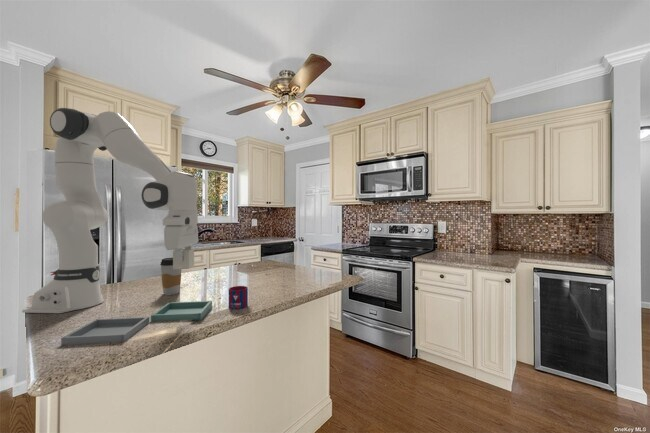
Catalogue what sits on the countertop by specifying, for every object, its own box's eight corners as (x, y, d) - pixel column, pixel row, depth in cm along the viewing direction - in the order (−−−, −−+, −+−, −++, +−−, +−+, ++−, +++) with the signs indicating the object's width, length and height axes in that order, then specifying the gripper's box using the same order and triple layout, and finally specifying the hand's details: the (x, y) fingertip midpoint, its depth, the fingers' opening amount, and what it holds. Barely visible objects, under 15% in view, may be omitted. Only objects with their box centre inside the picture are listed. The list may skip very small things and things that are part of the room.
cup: (226, 309, 99) (226, 290, 99) (234, 300, 109) (234, 283, 109) (245, 309, 100) (244, 290, 99) (251, 300, 110) (251, 283, 109)
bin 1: (61, 347, 71) (61, 338, 71) (96, 327, 84) (96, 319, 84) (124, 343, 73) (124, 334, 73) (149, 324, 86) (149, 316, 86)
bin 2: (150, 323, 87) (150, 315, 87) (168, 309, 100) (168, 302, 100) (201, 320, 89) (201, 313, 89) (212, 307, 102) (212, 300, 102)
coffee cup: (186, 290, 124) (186, 257, 124) (174, 296, 116) (174, 260, 115) (168, 290, 125) (168, 257, 125) (155, 295, 116) (155, 260, 116)
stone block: (173, 269, 91) (173, 250, 91) (179, 266, 96) (178, 249, 96) (189, 268, 92) (188, 250, 92) (194, 265, 97) (194, 248, 97)
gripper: (185, 219, 104) (185, 255, 104) (159, 220, 84) (160, 265, 84) (202, 219, 105) (202, 255, 105) (181, 220, 85) (182, 265, 85)
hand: (183, 260), depth 94 cm, fingers closed on stone block, 5 cm apart
